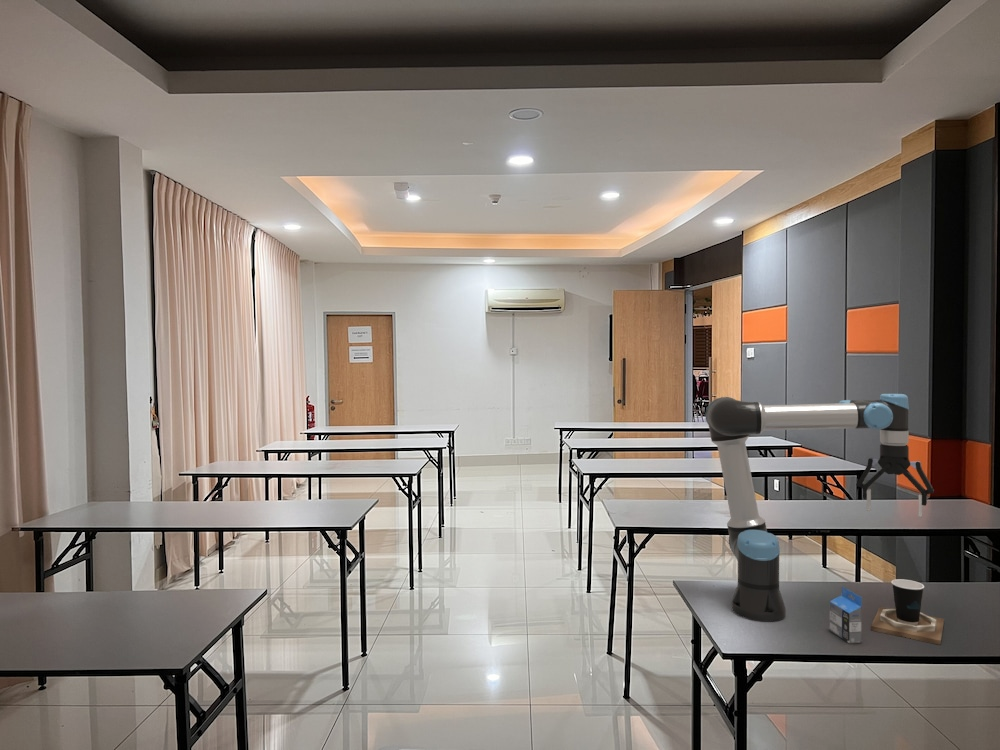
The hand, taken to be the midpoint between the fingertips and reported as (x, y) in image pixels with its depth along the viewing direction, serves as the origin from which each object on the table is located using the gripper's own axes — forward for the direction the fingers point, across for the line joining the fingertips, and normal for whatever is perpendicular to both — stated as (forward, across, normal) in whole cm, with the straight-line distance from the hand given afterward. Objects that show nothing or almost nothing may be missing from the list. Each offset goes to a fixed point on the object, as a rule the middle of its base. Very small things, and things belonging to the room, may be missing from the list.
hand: (894, 513), depth 197 cm
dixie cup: (+28, -5, +16) cm, 32 cm away
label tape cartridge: (+29, +8, +34) cm, 45 cm away
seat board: (+29, -5, +16) cm, 33 cm away
